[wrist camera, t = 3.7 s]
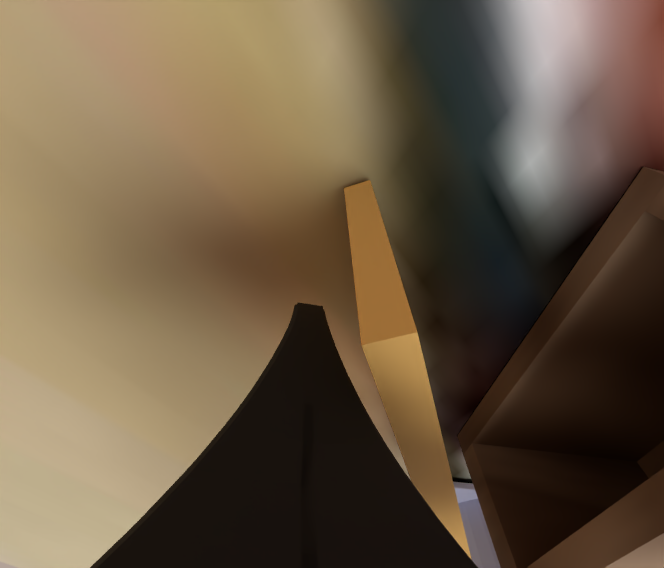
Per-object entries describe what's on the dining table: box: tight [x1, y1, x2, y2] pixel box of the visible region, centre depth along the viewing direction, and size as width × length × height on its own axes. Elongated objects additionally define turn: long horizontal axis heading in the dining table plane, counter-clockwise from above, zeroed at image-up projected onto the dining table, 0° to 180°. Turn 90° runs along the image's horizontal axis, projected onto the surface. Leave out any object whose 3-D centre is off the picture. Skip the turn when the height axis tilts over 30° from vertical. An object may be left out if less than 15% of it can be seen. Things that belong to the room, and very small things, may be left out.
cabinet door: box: [344, 180, 472, 560], centre depth 12 cm, size 15×1×7 cm, turn 17°
